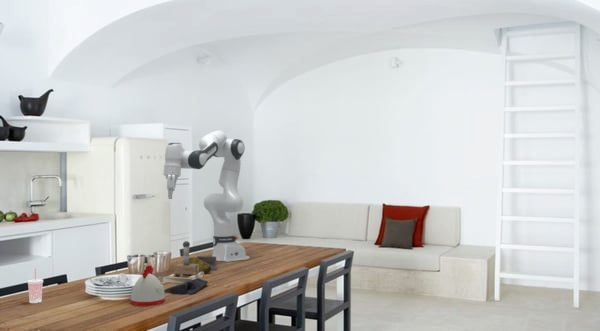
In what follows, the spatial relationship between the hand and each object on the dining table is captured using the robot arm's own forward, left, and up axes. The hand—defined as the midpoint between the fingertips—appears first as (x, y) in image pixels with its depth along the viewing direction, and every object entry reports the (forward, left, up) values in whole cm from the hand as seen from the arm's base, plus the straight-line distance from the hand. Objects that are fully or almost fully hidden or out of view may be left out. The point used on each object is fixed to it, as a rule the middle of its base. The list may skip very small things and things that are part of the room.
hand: (169, 198), depth 324 cm
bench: (-8, +15, -39) cm, 42 cm away
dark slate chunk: (+3, +46, -39) cm, 60 cm away
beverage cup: (+67, +42, -39) cm, 88 cm away
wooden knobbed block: (-3, +21, -38) cm, 43 cm away
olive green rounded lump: (-13, +9, -39) cm, 42 cm away
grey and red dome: (+25, +63, -39) cm, 78 cm away
